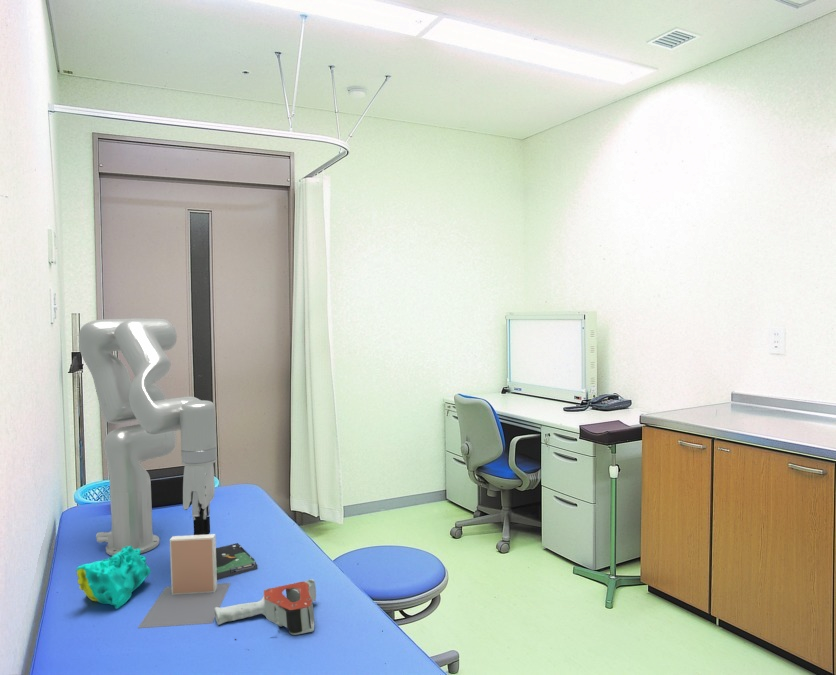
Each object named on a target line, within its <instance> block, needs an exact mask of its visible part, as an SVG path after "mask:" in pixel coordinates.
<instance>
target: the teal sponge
mask: <svg viewBox="0 0 836 675" xmlns="http://www.w3.org/2000/svg"><path fill="white" fill-rule="evenodd" d="M140 552H141V550H140V549H135V550H134V549H133V548H132V546H129V547H128V546H126V547H123V548H122V551H120V552H119V553H116V554H115V555H113V556H112V555H111V556H110V557H109V558H104V559H102V560H97V561H96V560H94V561H93V562H90V563H83V564H80V565H79V566H77V567H76V570H75V571H76V572H77V573H76V576H77V577H78V579H77V584H78V585H79V587H78V588H79V590H81V591H83V593H84V594H85V596H86V597H88V599H90V600H91V601H92V602H97V603H101V604H104V605H105V604H107V605H108V604H109V605H111V606H114V609H115V610H117V609H119V608H121V607H122V606H124V605H125V604H126V603H127V601H128V600H129V599H131V597H132V592H134V591H135V590H136V589H137V588H138V587H140V586H141V585H142V583H143V582H144V581H146V580H145V579H147V577H148V576H149V575H150V573H151V571H152V570H151V568H150V567H149V566H148V565H147V562H146V561H147V558H146V556H144V555H141V554H140Z"/></svg>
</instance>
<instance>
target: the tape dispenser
mask: <svg viewBox="0 0 836 675" xmlns="http://www.w3.org/2000/svg"><path fill="white" fill-rule="evenodd" d="M284 591H285V593H286V595H285V594H283V592H284ZM316 600H317V588H316V581H315V579H313V578H312V579H311V578H310V579H309V578H308V579H306V580H304V581H303V580H302V581H299V582H294V583H289V584H285V585H280V586H276V587H270V588H266V589H263V597H262V598H261V599H259V601H254V602H247V603H245V602H244V603H238V604H234V605H228V606H224V607H223V606H222V607H220V608H219V607H216V608H215V609H214V611H215V621H216V623H217V625H218V626H220V625H222V624H225V623H227V622H232V621H233V622H234V621H237V620H242V619H246V618H251V617H255V616H257V615H263V616H265V617H266V620H268V621H269V622H271V623H273V624H275V625H277V626H278V627H280V628H281V627H285V628H286V629H287V631H288V633H289V634H290V635H293V636H296V635H297V636H298V635H301V634H307V633H311V632H314V630H315V613H314V606H313V602H315V601H316Z"/></svg>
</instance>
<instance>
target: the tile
mask: <svg viewBox="0 0 836 675" xmlns="http://www.w3.org/2000/svg"><path fill="white" fill-rule="evenodd" d="M216 541H217V539H216V533H209V534H207V535H194V534H190V535H172V537H171V538H170V539H169V554H170V579H171V581H170V582H171V583H170V584H171V585H170V587H172V595H177V594H193V593H209V592H215V591H216V589H217V584H218V580H217V567H216V548H217V546H216V545H217V542H216Z"/></svg>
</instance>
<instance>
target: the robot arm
mask: <svg viewBox="0 0 836 675" xmlns="http://www.w3.org/2000/svg"><path fill="white" fill-rule="evenodd" d="M177 338H178V336H177V332H176V329H175V327H174V325H173V324H172V323H171V321H169V320H167V319H165V318H139V317H138V318H107V319H106V318H104V319H102V318H101V319H96V320H91V321H89V322H86V323H85V324H83V325H82V327H81V328H80V330H79V333H78V348H79V351H80V352H79V353H80V354H81V355H80V356H81V357H82V360H83V361H84V363H85V365H86V367H87V369H88V370H89V372H90V374H91V377H92V380H93V384H94V389H95V392H96V396H97V401H98V404H99V407H100V412H101V414H102V417H103V418H104V420H105V421H106V422H107V423H108V424H109V423H110V424H123V423H130V422H136V421H137V422H138V424H132V425H128V426H121V427H119V428H116V429H113V430H112V431H109V432H108V433H107V435H105V437H104V440H103V451H104V455H105V460H106V464H107V469H108V478H109V497H110V516H111V519H110V520H111V530H109V532H106V531H100V532H97V533H96V535H95V540H96V542H97V543H107V545H106V546H105V553H106V554H107V555H109V556H111V557H112V556H113V555H115V554H116V553H119V552H120V551H122V548H123V547H126V546H128V547H129V546H132V548H133V549H134V550H135V549H140V550H141V552H140V555H141V554H144V553H147V552H149V551H152V550H153V549H155V548H156V547H158V546H159V544H160V536H158V535H156V534H153V513H152V512H153V510H152V508H153V507H152V485H151V484H152V483H151V476H150V474H149V472H148V471H147V470H146V469H145V468H144V467H143V465H141V462H144V461H147V460H153V459H156V458H160V457H161V458H162V457H165V456H168V455H170V454H172V453H173V452H174V450H175V449H176V445H177V436H176V432H177V431H180V451H181V464H182V466H183V467H184V468H183V480H182V509H183V510H184V511H187V510H188V509H189V508H190V507H191V517H192V521H193V535H207V534H211V518H210V512H211V511H210V510H211V509H210V504H211V502H212V501H213V500H214V498H215V492H216V491H215V490H216V489H215V488H216V487H215V486H216V485H215V482H216V481H215V480H216V479H215V468H214V466H215V465H214V463H216V462H218V456H217V455H218V452H217V448H218V447H217V424H216V422H217V421H216V419H217V418H216V417H217V416H216V405H215V403H214V402H212V401H211V400H207V399H206V400H204V399H202V400H201V399H199V398H197V397H195V396H182V397H174V398H167V397H166V395H165V393H164V391H163V390H162V388H161V387H160V386H158V385H157V384H155V383H157V382H159V381H160V380H161V379H163V378H164V377H165V376H166V375H167V374H168V373H169V371H170V370H171V369H170V368H171V360H170V359H169V357H168V356H167V354H166V352H165V351H169V350H171V349H173V348H174V347H175V346H176V343H177ZM119 351H120V352H121V353H122V355H123V357H124V358H125V361H126V363H127V364H128V366H129V368H130V370H131V371H132V373H133V374H134V377H133V379H132V380H131V377H130V376H131V375H130V373H129V369H128V367H127V366H126V365H125V364H124V362H123V361H122V360H121V359H120V358H118V356H115V354H113V353H112V352H119Z"/></svg>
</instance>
